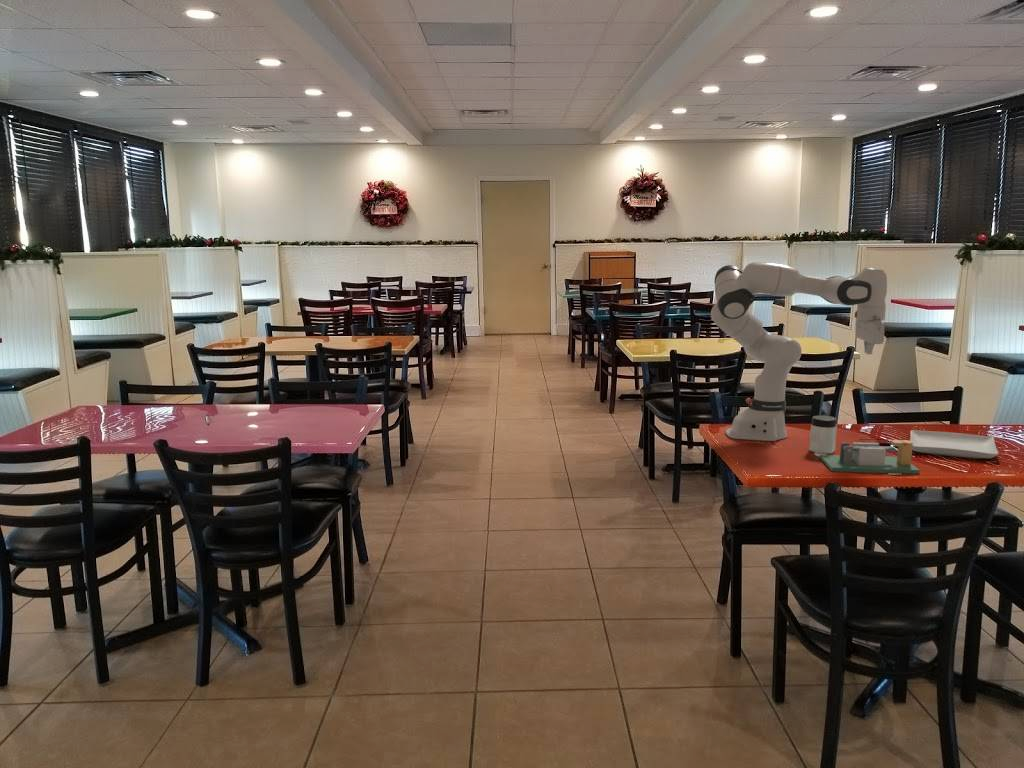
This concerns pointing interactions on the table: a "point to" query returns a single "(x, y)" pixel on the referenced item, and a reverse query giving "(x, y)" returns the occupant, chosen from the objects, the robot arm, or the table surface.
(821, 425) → the jar
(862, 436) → the table surface
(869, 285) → the robot arm
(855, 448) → the dark grey flat bar
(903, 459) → the tan wooden block
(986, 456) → the square plate
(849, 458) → the board
